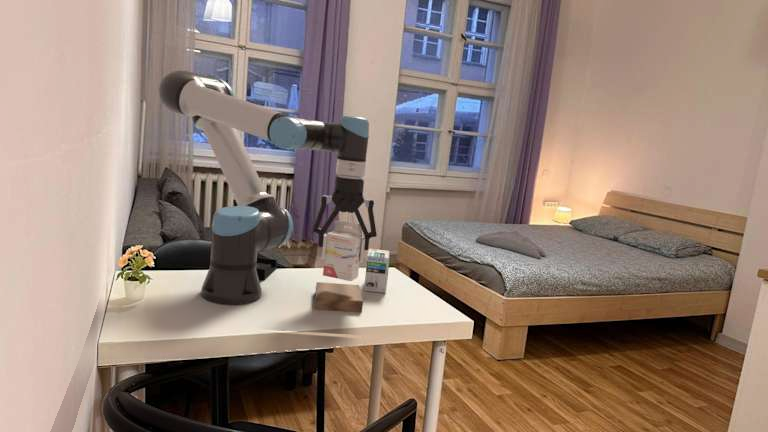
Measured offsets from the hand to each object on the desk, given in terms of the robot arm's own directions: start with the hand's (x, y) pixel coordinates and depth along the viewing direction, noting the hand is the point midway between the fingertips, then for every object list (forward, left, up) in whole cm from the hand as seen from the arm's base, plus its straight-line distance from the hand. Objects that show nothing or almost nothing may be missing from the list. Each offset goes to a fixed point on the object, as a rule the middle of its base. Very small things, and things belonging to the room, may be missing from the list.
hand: (342, 260), depth 140 cm
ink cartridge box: (0, 0, -5) cm, 5 cm away
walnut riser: (0, 0, -12) cm, 12 cm away
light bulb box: (+12, +16, -12) cm, 23 cm away
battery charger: (-24, +21, -12) cm, 35 cm away
